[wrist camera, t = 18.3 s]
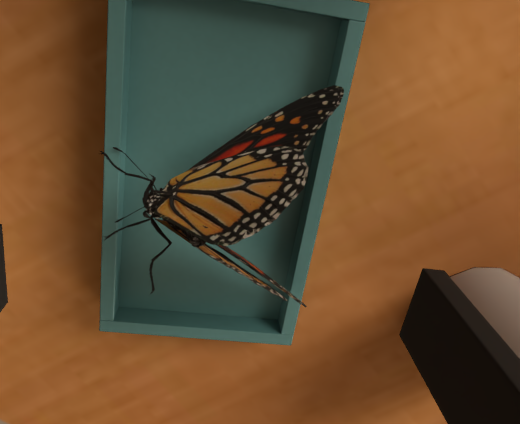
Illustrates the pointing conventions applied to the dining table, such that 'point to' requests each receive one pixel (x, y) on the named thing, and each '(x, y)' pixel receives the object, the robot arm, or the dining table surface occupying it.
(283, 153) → the butterfly
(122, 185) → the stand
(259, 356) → the dining table surface
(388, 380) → the dining table surface
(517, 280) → the cup
